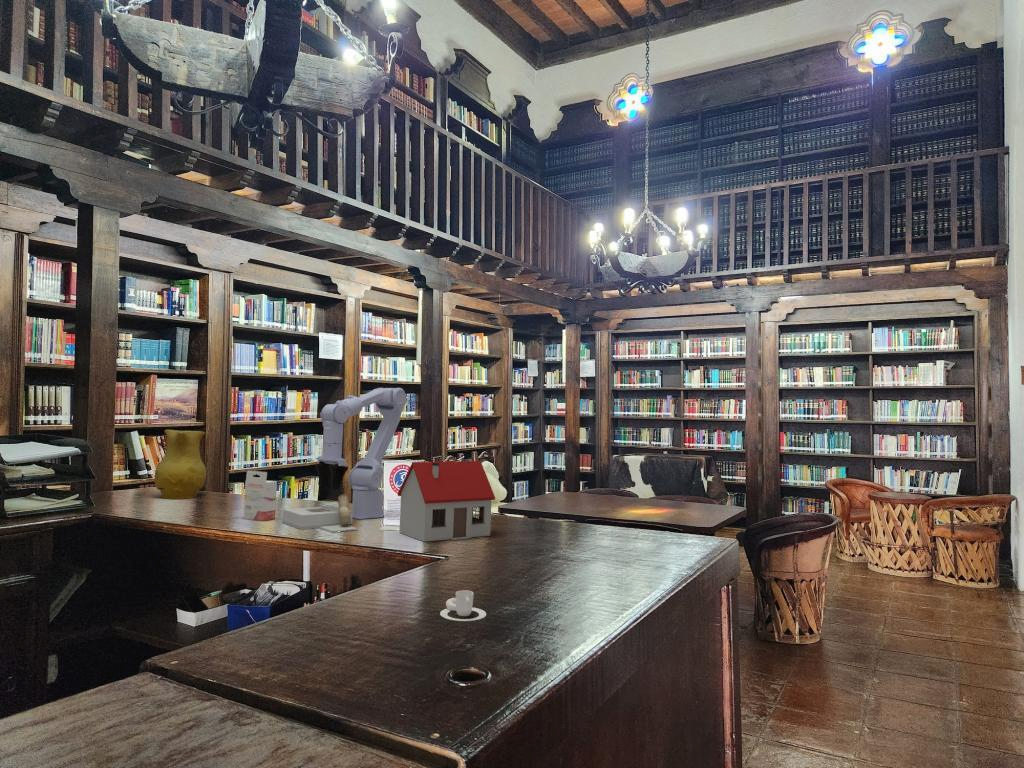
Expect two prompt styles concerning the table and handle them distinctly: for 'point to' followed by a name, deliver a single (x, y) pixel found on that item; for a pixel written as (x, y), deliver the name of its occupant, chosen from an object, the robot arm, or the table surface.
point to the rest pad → (338, 528)
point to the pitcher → (181, 466)
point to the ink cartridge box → (259, 497)
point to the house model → (445, 501)
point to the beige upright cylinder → (344, 510)
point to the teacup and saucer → (462, 606)
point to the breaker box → (312, 517)
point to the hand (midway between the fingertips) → (329, 488)
